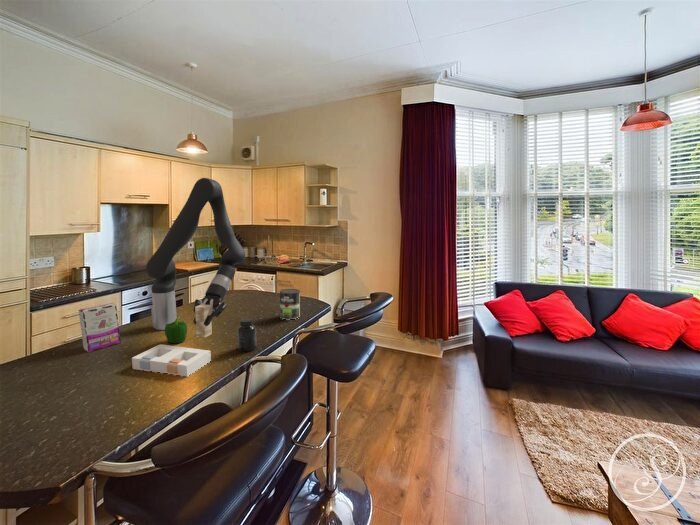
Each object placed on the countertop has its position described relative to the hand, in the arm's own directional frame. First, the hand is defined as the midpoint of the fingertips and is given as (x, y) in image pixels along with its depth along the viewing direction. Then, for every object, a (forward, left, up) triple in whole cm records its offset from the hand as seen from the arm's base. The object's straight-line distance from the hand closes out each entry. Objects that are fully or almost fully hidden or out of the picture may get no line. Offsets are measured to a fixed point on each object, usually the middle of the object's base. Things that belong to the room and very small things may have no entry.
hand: (200, 324), depth 125 cm
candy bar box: (-40, -8, -10) cm, 42 cm away
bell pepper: (-15, +4, -10) cm, 18 cm away
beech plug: (0, +2, -5) cm, 5 cm away
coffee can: (+17, +46, -10) cm, 50 cm away
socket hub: (-1, -14, -10) cm, 17 cm away
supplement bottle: (+17, +5, -10) cm, 21 cm away
